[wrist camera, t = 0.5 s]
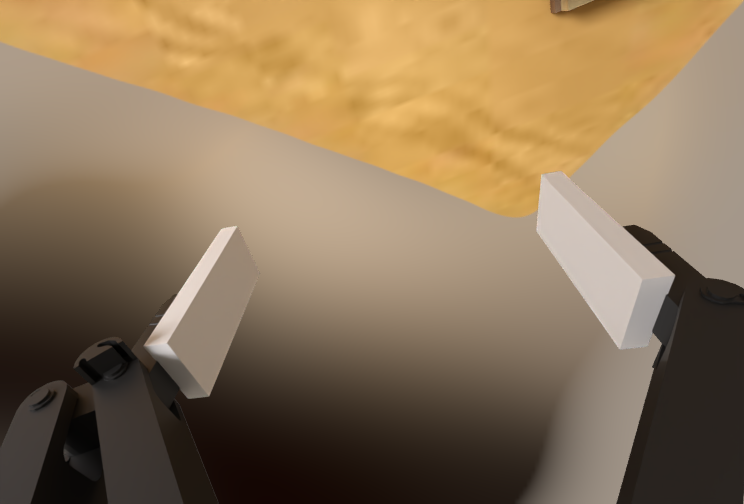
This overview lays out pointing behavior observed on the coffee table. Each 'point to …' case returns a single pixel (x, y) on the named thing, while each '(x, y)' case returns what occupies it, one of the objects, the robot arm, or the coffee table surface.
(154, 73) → the coffee table surface
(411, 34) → the coffee table surface
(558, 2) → the shallow beige tray
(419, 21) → the coffee table surface
